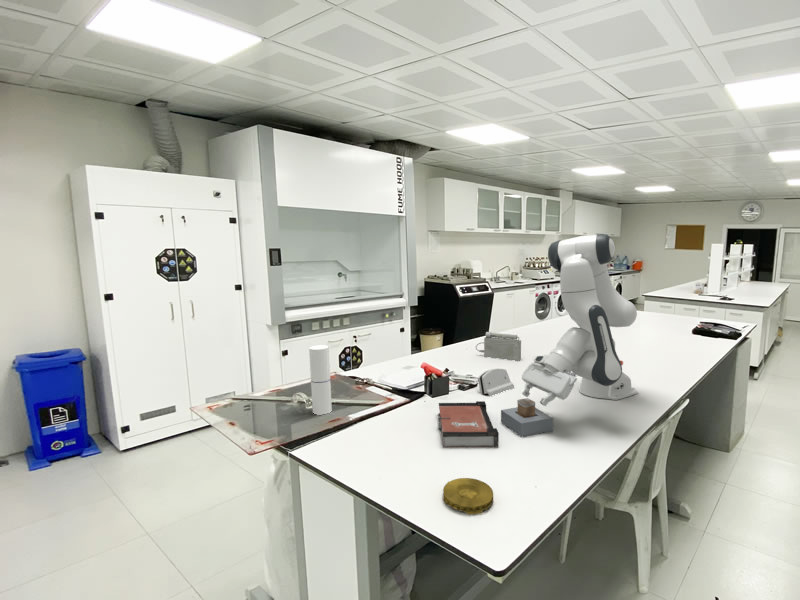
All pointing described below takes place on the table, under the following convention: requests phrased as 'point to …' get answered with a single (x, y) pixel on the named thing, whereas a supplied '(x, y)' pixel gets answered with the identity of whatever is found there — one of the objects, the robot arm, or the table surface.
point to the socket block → (526, 422)
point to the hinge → (494, 382)
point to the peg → (526, 408)
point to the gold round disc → (468, 495)
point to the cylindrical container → (320, 379)
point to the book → (466, 425)
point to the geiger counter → (501, 346)
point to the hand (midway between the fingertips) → (533, 399)
